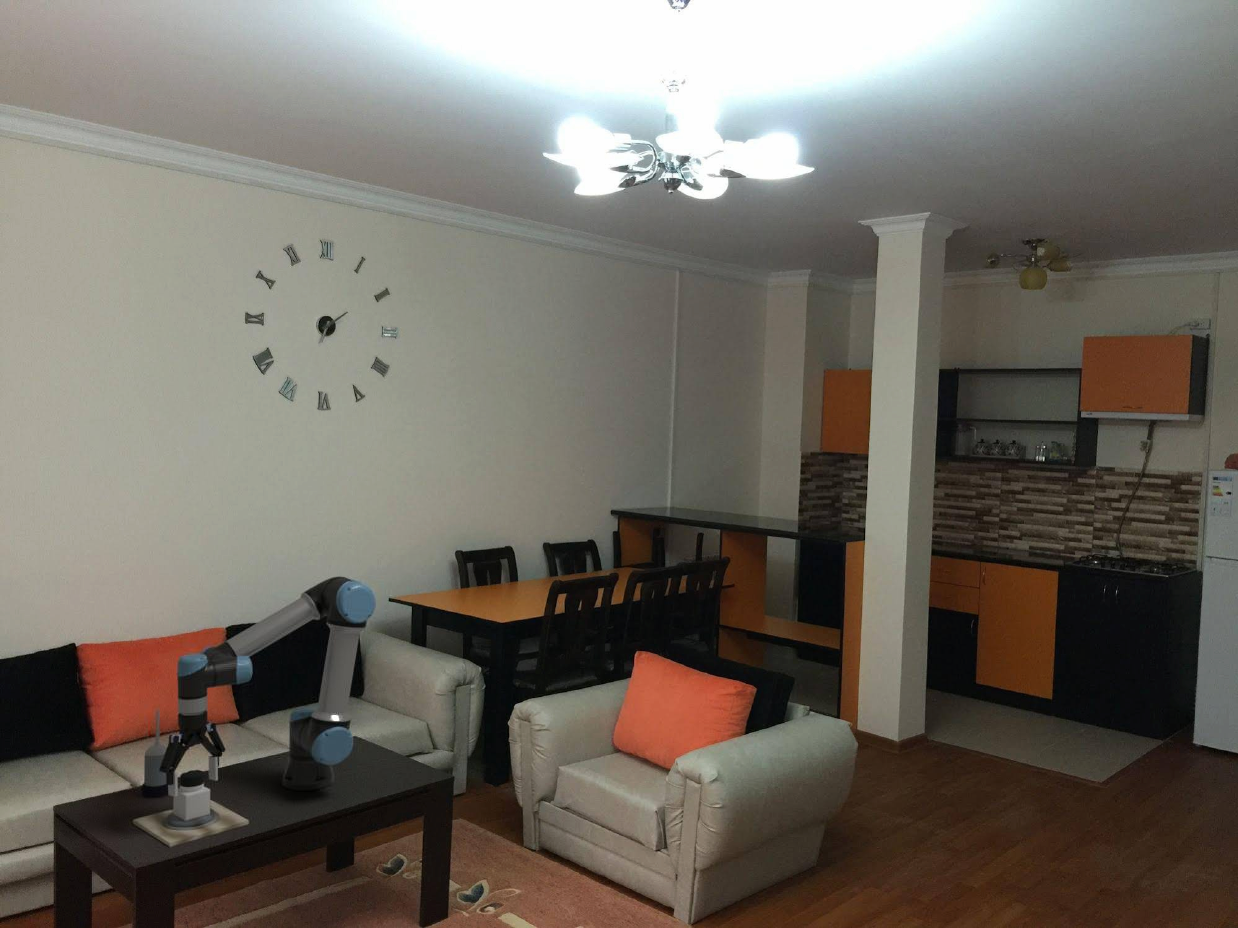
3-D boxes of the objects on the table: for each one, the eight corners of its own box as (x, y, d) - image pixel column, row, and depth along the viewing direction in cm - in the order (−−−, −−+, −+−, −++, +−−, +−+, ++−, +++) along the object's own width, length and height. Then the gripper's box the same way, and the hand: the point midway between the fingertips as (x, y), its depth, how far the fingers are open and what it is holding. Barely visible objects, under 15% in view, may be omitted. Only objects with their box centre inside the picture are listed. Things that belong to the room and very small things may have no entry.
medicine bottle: (210, 814, 284) (211, 771, 283) (185, 821, 278) (186, 777, 278) (197, 807, 288) (198, 765, 288) (172, 814, 283) (173, 771, 282)
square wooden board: (210, 802, 299) (210, 794, 299) (248, 823, 284) (248, 814, 284) (133, 823, 282) (133, 814, 282) (169, 846, 268) (170, 837, 268)
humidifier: (174, 787, 310) (175, 705, 309) (168, 797, 302) (169, 713, 301) (145, 788, 308) (146, 706, 307) (138, 798, 300) (139, 714, 299)
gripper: (218, 698, 295) (219, 770, 296) (144, 721, 273) (145, 799, 274) (238, 701, 292) (238, 775, 293) (164, 725, 269) (165, 805, 270)
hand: (193, 787), depth 283 cm, fingers open, 13 cm apart
